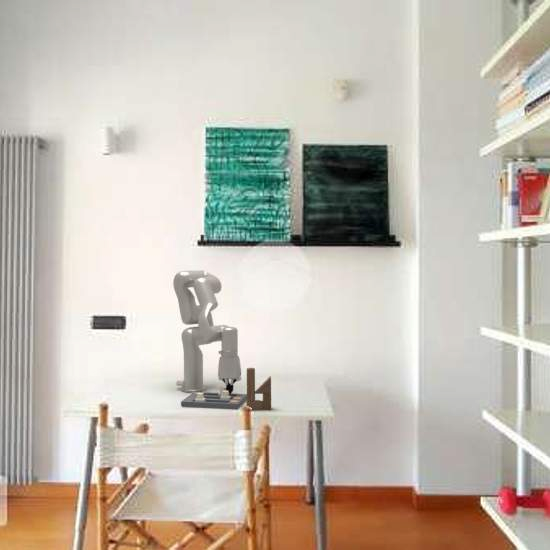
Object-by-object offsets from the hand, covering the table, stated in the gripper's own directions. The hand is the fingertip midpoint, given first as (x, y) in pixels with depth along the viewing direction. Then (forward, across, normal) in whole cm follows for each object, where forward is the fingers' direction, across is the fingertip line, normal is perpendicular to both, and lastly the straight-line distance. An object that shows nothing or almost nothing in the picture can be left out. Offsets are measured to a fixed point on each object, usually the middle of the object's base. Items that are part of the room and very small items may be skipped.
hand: (229, 392), depth 260 cm
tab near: (+2, -11, -12) cm, 16 cm away
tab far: (+2, -3, 0) cm, 4 cm away
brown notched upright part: (+4, +16, -13) cm, 21 cm away
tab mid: (+2, 0, -6) cm, 7 cm away
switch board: (+3, -5, -6) cm, 9 cm away
